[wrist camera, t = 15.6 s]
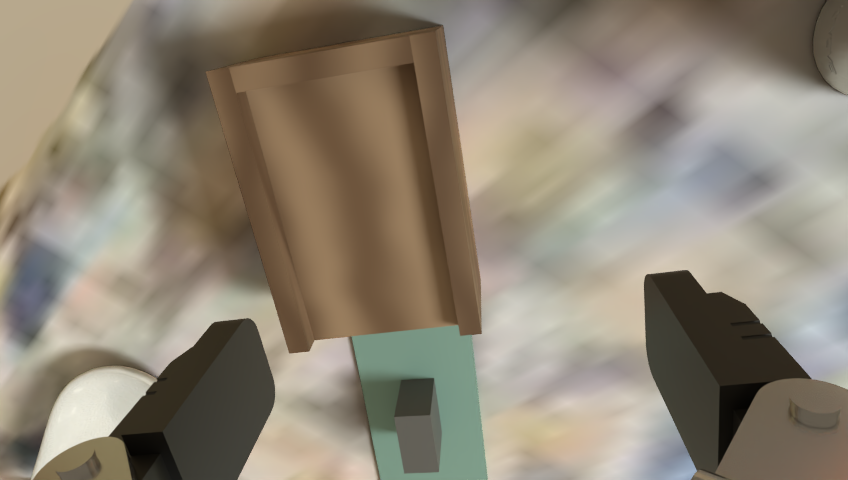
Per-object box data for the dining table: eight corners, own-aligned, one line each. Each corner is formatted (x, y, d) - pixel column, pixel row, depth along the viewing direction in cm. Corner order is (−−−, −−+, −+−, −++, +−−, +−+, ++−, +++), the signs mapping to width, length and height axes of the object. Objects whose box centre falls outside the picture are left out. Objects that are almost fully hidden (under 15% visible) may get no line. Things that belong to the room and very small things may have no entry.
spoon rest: (121, 325, 53) (71, 371, 46) (224, 402, 55) (189, 456, 49) (6, 461, 61) (-51, 517, 54) (101, 523, 63) (57, 584, 57)
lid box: (442, 25, 41) (435, 31, 33) (480, 279, 48) (481, 333, 40) (255, 58, 43) (205, 71, 35) (318, 298, 50) (289, 353, 42)
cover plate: (469, 310, 50) (468, 349, 44) (487, 472, 57) (488, 523, 51) (351, 319, 51) (336, 357, 46) (382, 476, 58) (373, 526, 52)
